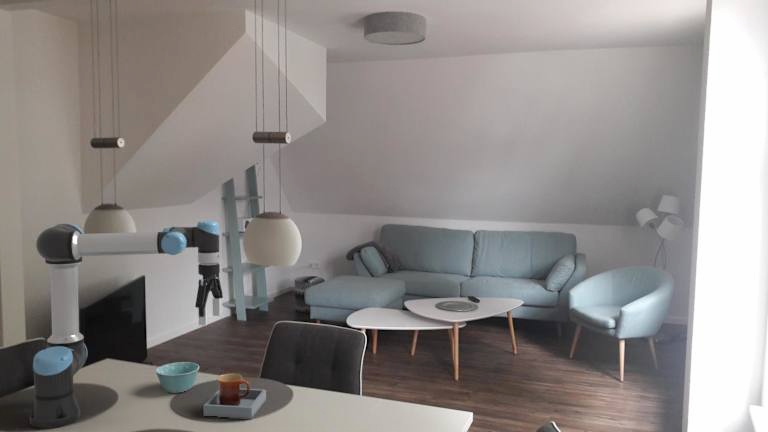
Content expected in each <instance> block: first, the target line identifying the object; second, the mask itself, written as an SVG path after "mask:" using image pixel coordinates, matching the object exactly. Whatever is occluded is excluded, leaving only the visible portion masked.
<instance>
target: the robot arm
mask: <svg viewBox="0 0 768 432" xmlns="http://www.w3.org/2000/svg"><path fill="white" fill-rule="evenodd" d="M219 227H220V226H219V223H218V222H217V221H215V220H202V221H198V222H197V226H190V227H189V226H167V227H164V228H163V230H162V231H146V232H145V231H141V232H138V231H137V232H136V231H135V232H109V233H107V232H106V233H104V232H102V233H101V232H100V233H85V232H84V231H83V230H82V229H81V228H80V227H79V226H77V225H75V224H72V223H58V224H56V225H54V226H52V227H49V228H46V229H45V230H43V231H42V232H41V233H40V234H39V235H38V236H37V239H36V242H35V243H36V244H35V247H36V251H37V252H38V254H39V256H41V257H42V259H44V260H45V261H44V262H45V265H46V266H48V267H49V269H50V299H51V300H50V301H51V303H50V306H51V307H50V308H51V335H50V336H49V337H48V339H46V340H47V342H46V343H47V348H45V349H42V350H39V351H38V352H37V353H36V354H35V355H34V357H33V363H32V370H33V383H34V385H33V386H34V387H33V388H34V403H33V405H32V408H31V411H30V413H29V414H30V415H29V424H31V425H32V427H33V428H36V429H37V428H38V429H51V428H58V427H64V426H67V425H69V424H72V423H74V422H75V421H77V420H79V418H81V408H80V406H79V404H78V401H77V399H76V396H75V391H74V376H75V375H76V374H77V373H78V372H79V371H80V370H81V369H82V367H83V366H84V365H85V363H86V362H87V361H86V360H87V359H88V348H87V346H86V344H85V342H84V341H85V339H84V335H83V333H81V332H80V323H79V322H80V319H79V317H80V315H79V309H80V308H79V273H78V272H79V270H78V269H79V266H80V265H81V264H82V262H83V257H107V256H109V257H110V256H129V255H130V256H131V255H133V256H135V255H153V254H154V255H155V254H157V255H158V254H162V255H163V254H167V255H170V256H176V255H178V254H181V253H183V251H184V250H185V249H187V248H189V249H190V248H197V263H198V265H197V266H198V270H197V271H198V272H197V273H198V275H200V276H202V279H200V278H199V279H198V286H197V287H198V288H197V294H196V299H195V308H197V309H198V326H204V327H205V326H207V322H208V321H207V318H208V317H207V315H208V314H207V313H208V312H207V307H206V305H207V302H208V299H209V294H210V292H211V295H212V296H213V298H212V317H221V299H223V298H224V297H223V289H222V285H221V282H220V273H221V272H220V271H221V269H220V267H221V265H220V258H221V254H220V228H219ZM31 425H30V426H31Z"/></svg>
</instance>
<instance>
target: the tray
mask: <svg viewBox="0 0 768 432" xmlns="http://www.w3.org/2000/svg"><path fill="white" fill-rule="evenodd" d="M240 390H241V394H245V393H246V392H247V388H241V387H240ZM266 401H267V389H259V388H250V392H249V394H248V395H247V396H246V397H244V398H241V401H240V404H239V405H238V406H229V405H220V403H219V389H218V390H217V391H216V392H215V393H214V394H213V395H212V396H211V397H210V398H209V399H208V400H207V401H206V402H205V403H204V404H203V406H202V407H203V417H204V416H218V417H217V418H220V417H229V418H228V419H238V418H239V419H241V420H252V419H253V418H254V417H255V416H256V414H258V412H259V410H260V409H261V408H262V407H263V405H264V404H265V402H266ZM239 419H238V420H239Z"/></svg>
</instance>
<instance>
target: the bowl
mask: <svg viewBox="0 0 768 432" xmlns="http://www.w3.org/2000/svg"><path fill="white" fill-rule="evenodd" d="M199 370H200V366H199V364H197V363H195V362H192V361H191V362H190V361H181V362H179V361H177V362H173V363H172V362H171V363H167V364H162V365H161V366H159V367H158V368H156V369H155V374H156V376H157V378H158V380H159V383H160V385H161V387H162V389H163V390H164V391H166V392H167V393H171V394H180V392H181V393H184V391H185V392H188V391H189V390H191V388H193V387H194V384H195V382H196V379H197V376H198V372H199Z"/></svg>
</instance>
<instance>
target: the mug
mask: <svg viewBox="0 0 768 432" xmlns="http://www.w3.org/2000/svg"><path fill="white" fill-rule="evenodd" d="M216 380H217V383H218V388H219V389H218V390H219V403H220V405H229V406H238V405H239V404H240V401H241V398H244V397H246V396H247V395H248V394H249V392H250V389H251V383H250V382H249V381H248V380H247V379H243V375H241V374H239V373H233V372H232V373H224V374H221V375H219V376H217V378H216ZM242 384H245V385H246V389H247V392H246V393H245V394H241V390H240V388H241V386H242Z"/></svg>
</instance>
